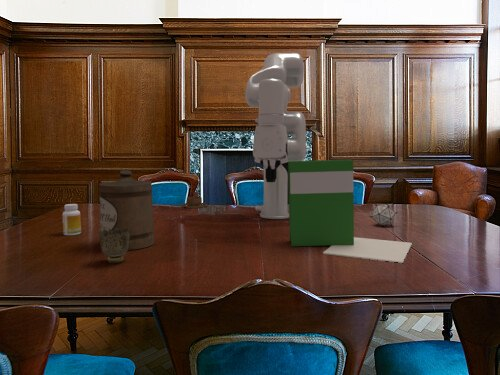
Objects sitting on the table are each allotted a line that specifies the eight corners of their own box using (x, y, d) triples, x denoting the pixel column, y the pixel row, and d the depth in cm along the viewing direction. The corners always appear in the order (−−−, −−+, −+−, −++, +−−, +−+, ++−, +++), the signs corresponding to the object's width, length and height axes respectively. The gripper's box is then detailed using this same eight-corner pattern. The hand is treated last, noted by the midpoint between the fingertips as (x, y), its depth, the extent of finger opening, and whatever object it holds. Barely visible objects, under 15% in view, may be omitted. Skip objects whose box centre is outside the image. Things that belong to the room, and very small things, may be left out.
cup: (104, 258, 106) (103, 227, 105) (133, 257, 106) (132, 226, 105) (96, 266, 98) (94, 233, 97) (127, 265, 99) (126, 233, 98)
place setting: (171, 208, 193) (171, 196, 192) (194, 203, 211) (193, 191, 210) (203, 210, 186) (203, 197, 185) (224, 205, 204) (224, 193, 203)
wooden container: (99, 241, 124) (96, 168, 122) (149, 237, 130) (147, 167, 127) (103, 253, 110) (99, 171, 108) (158, 248, 116) (156, 170, 114)
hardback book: (291, 246, 117) (289, 161, 115) (289, 240, 124) (288, 161, 122) (353, 244, 117) (353, 160, 114) (348, 239, 124) (347, 159, 122)
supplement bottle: (84, 232, 136) (83, 203, 135) (73, 236, 131) (71, 206, 130) (71, 231, 138) (70, 203, 137) (59, 235, 133) (58, 205, 132)
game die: (388, 236, 146) (400, 217, 139) (365, 227, 147) (376, 208, 141) (390, 221, 153) (402, 201, 146) (368, 212, 154) (379, 192, 147)
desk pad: (322, 253, 109) (322, 252, 109) (343, 237, 128) (343, 236, 128) (402, 263, 100) (402, 261, 100) (411, 244, 119) (412, 242, 119)
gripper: (243, 121, 124) (243, 182, 126) (289, 119, 117) (289, 183, 119) (254, 123, 131) (254, 180, 132) (298, 121, 124) (298, 181, 125)
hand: (270, 181), depth 125 cm, fingers closed
